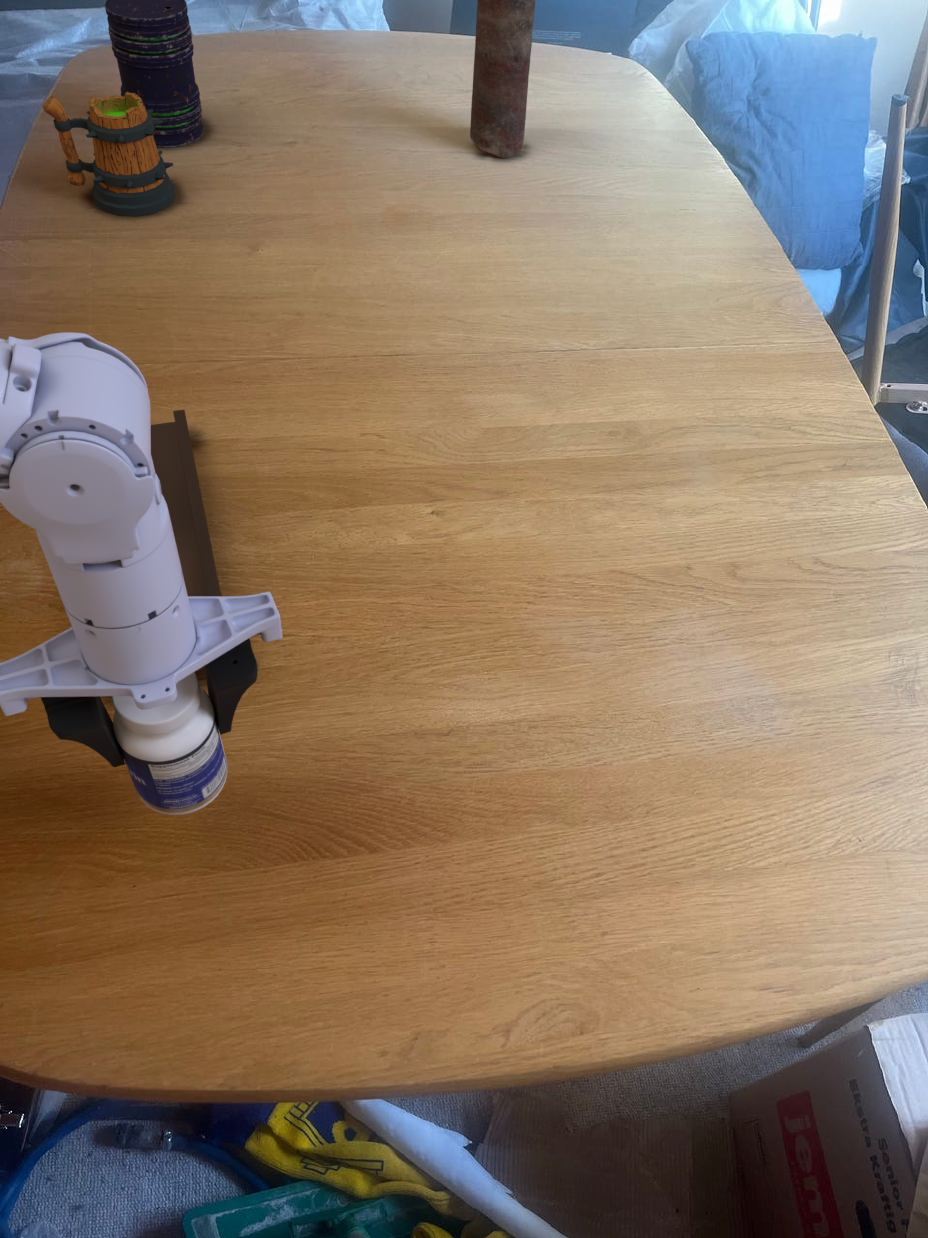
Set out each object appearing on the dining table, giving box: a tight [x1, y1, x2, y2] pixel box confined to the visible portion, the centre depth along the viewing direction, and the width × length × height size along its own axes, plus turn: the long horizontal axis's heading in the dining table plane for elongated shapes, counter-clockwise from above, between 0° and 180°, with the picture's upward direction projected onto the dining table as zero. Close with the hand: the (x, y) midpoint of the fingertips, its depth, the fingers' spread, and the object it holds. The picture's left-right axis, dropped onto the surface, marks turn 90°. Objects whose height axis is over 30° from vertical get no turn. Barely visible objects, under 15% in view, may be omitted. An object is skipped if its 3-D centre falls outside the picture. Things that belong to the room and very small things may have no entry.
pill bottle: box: [111, 672, 228, 816], centre depth 57 cm, size 6×6×10 cm
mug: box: [41, 92, 177, 217], centre depth 112 cm, size 13×10×12 cm
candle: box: [469, 0, 537, 159], centre depth 124 cm, size 8×7×20 cm
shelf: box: [151, 409, 222, 681], centre depth 78 cm, size 9×28×3 cm, turn 17°
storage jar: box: [104, 0, 205, 148], centre depth 122 cm, size 10×10×15 cm
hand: (168, 736), depth 57 cm, fingers closed on pill bottle, 5 cm apart
